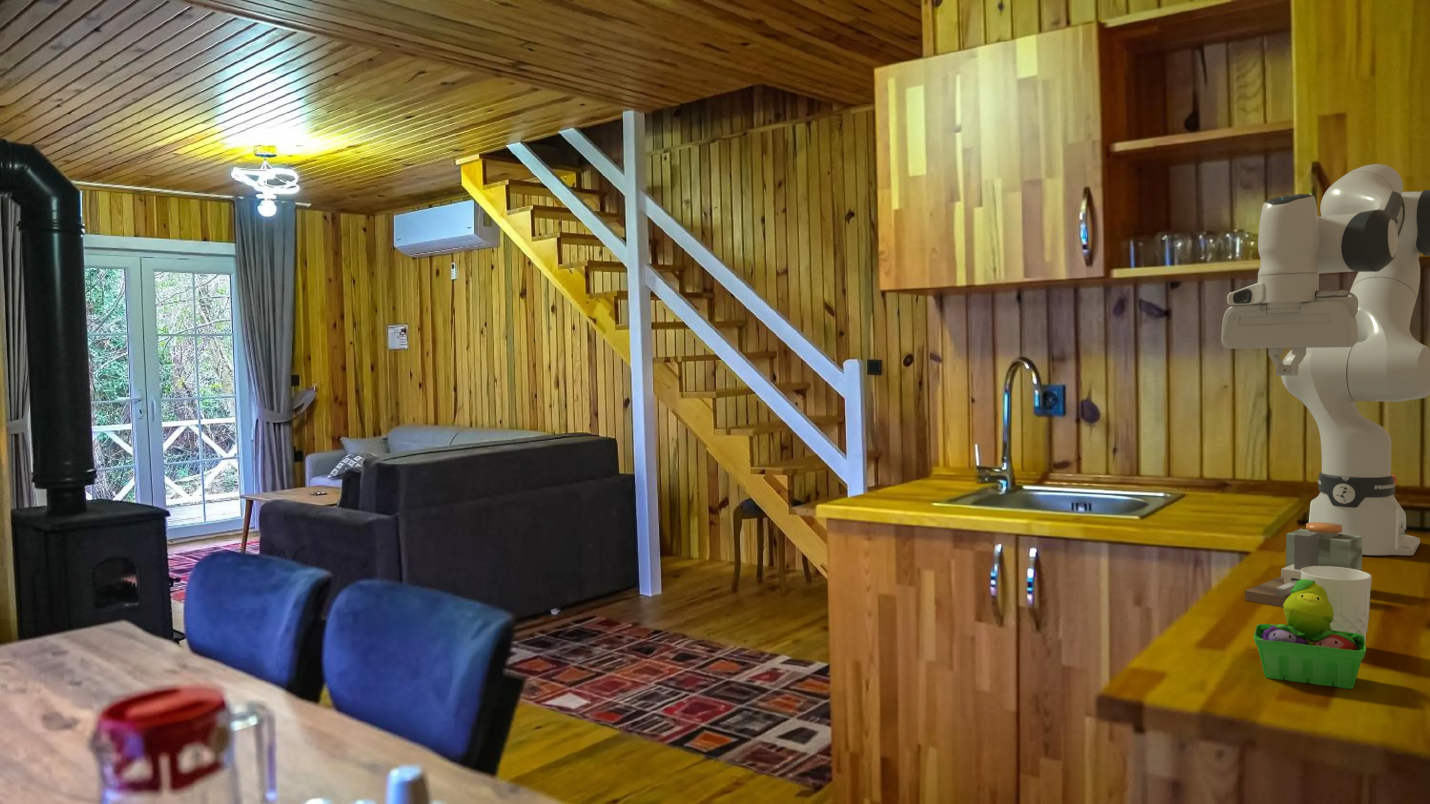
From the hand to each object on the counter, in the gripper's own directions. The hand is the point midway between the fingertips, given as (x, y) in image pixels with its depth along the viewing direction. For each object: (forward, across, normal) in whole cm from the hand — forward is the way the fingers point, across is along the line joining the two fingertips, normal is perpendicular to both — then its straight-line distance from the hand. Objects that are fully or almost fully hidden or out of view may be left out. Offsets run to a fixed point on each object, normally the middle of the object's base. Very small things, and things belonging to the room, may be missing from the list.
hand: (1286, 375), depth 167 cm
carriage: (+32, -7, +10) cm, 35 cm away
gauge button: (+28, -7, +3) cm, 29 cm away
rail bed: (+34, -7, +10) cm, 36 cm away
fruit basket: (+34, -22, +50) cm, 65 cm away
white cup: (+34, -20, +36) cm, 54 cm away
